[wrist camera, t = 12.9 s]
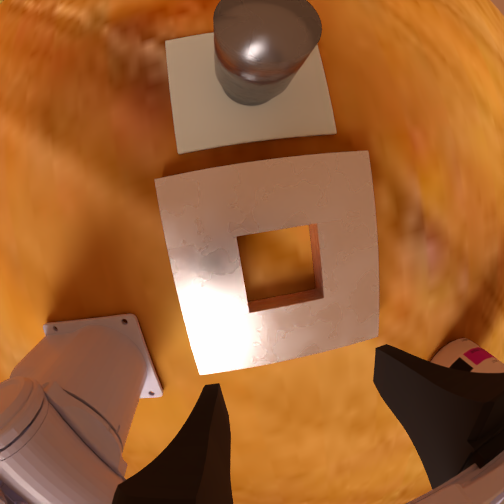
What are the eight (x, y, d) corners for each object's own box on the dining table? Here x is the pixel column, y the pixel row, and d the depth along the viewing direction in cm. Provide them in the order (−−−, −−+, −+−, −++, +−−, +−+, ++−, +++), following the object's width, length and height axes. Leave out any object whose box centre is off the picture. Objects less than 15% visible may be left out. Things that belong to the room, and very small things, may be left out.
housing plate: (201, 360, 22) (199, 374, 20) (161, 180, 19) (154, 179, 17) (367, 325, 23) (378, 336, 21) (355, 153, 20) (368, 150, 18)
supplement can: (469, 321, 24) (563, 384, 10) (469, 369, 26) (540, 432, 12) (415, 362, 24) (504, 453, 10) (420, 406, 26) (486, 487, 12)
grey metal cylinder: (219, 115, 18) (220, 66, 10) (211, 55, 17) (208, -13, 9) (290, 108, 18) (332, 61, 10) (278, 50, 17) (308, -14, 9)
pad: (179, 154, 18) (177, 153, 18) (166, 43, 16) (165, 41, 16) (334, 134, 19) (336, 133, 19) (310, 30, 17) (312, 27, 17)
